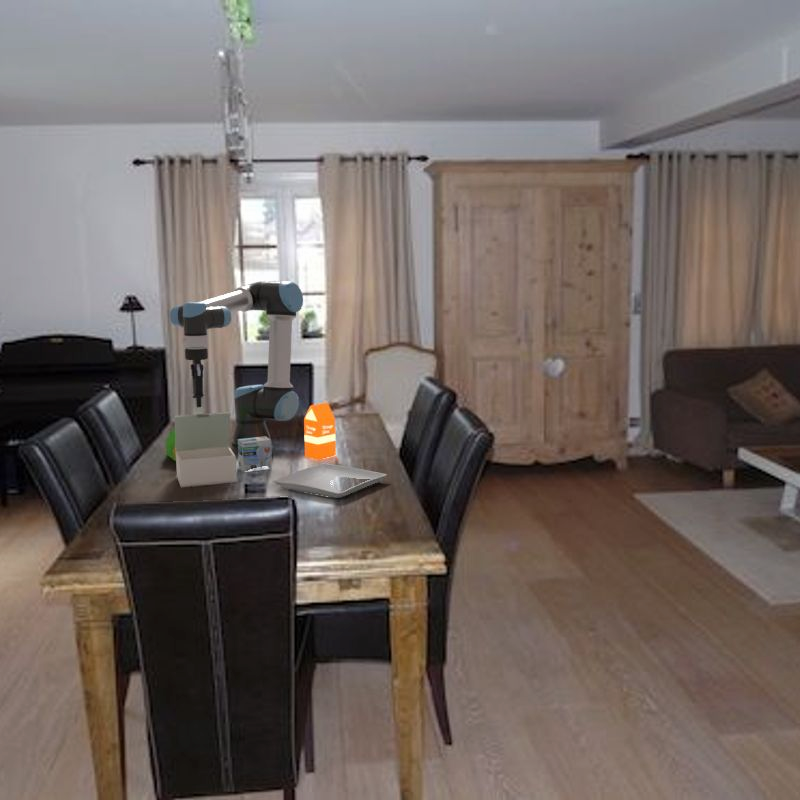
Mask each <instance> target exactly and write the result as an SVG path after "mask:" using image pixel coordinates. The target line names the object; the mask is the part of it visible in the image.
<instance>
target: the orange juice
mask: <svg viewBox="0 0 800 800" xmlns="http://www.w3.org/2000/svg"><path fill="white" fill-rule="evenodd" d="M303 427H304V430H303V431H304V437H303V438H304V457H305V458H307V457H308V458H309V459H311V458H313V459H312V460H315V459H317V460H316V461H320V460H319V459H322V460H324V459H323V458H326V459H328V458H327V457H330V458H332V457H331V456H334V455H336V453H337V451H336V438H337V437H336V418H335V416H334V413H333V411H332V408H331V407H330V405H329V403H328V402H324V403H317V404H312V405H310V406H309V408H308V409H307V411H306V414H305V416H304V419H303ZM336 456H337V455H336ZM334 457H335V456H334ZM308 458H307V459H308Z"/></svg>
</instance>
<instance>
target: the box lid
mask: <svg viewBox="0 0 800 800" xmlns="http://www.w3.org/2000/svg"><path fill="white" fill-rule="evenodd" d="M230 428H231V412H230V411H226V412H225V411H224V412H222V411H221V412H211V413H208V412H207V413H203V414H195V413H194V414H182V415H181V414H180V415H174V429H175V450H176V451H177V450H189V449H208V448H220V447H230V430H231V429H230Z"/></svg>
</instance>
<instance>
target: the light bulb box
mask: <svg viewBox="0 0 800 800" xmlns="http://www.w3.org/2000/svg"><path fill="white" fill-rule="evenodd" d="M237 453H238V454H237V457H238V469H239V468H240V469H241V470H242V471H241V470H240V469H239V470H240V471H241V472H243V473H246V472H245V471H248V470H250V469H253V468H257V467H262V466H268V467H269V468H270V469H269V470H273V467H272V466H273V463H272V462H273V461H272V459H273V458H272V455H273V454H272V439H271V438H270V439H269V438H267V437H266V436H263V437H255V438H246V439H238V445H237Z"/></svg>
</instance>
